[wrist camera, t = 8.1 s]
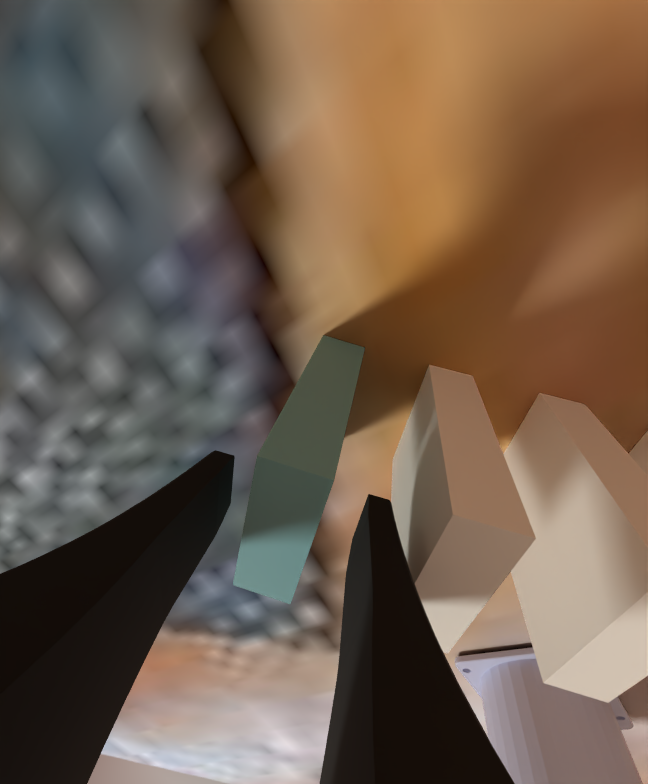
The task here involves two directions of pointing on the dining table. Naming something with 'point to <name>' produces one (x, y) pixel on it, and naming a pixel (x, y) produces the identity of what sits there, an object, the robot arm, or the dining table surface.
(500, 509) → the domino
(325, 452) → the domino
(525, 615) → the domino
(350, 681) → the robot arm
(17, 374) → the dining table surface
